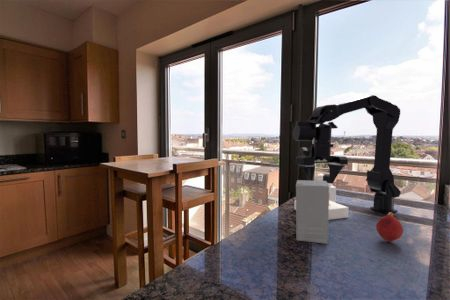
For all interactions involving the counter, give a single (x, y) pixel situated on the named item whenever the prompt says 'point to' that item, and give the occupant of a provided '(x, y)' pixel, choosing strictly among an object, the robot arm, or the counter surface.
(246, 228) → the counter surface
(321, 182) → the skincare box
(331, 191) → the medicine bottle
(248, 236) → the counter surface
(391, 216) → the onion
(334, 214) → the socket block
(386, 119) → the robot arm
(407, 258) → the counter surface
